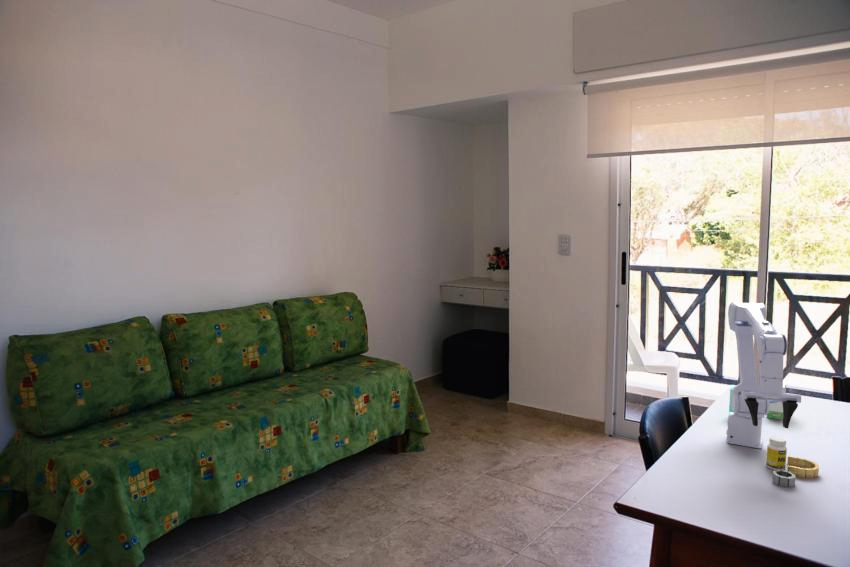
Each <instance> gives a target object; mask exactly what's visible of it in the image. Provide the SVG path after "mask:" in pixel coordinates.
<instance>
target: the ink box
mask: <svg viewBox="0 0 850 567" xmlns="http://www.w3.org/2000/svg"><path fill="white" fill-rule="evenodd" d="M786 392H787V381H784V380H783V393H786ZM786 394H787V393H786ZM768 398H769V397H768ZM775 399H779V398H775ZM769 402H770V409H769V412H768V414H767V415H766V418H767V417H768V418H769V419H773V418H774V419H775V420H781V421H783V404H782V402H783V401H774V400H769ZM774 419H773V420H774Z"/></svg>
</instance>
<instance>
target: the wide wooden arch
mask: <svg viewBox="0 0 850 567" xmlns="http://www.w3.org/2000/svg"><path fill="white" fill-rule="evenodd" d="M786 465H787V470H786V471H788V472H791V473H793V474H795V478H800V479H806V480H807V479H817V478H819V471H820V470H819V469H820V468H819V464H817V463H816V462H815V461H814V460H810V459H807V458H803V457H797V456H791V455H787V460H786ZM789 465H790V466H789ZM800 467H802V468H800Z"/></svg>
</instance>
